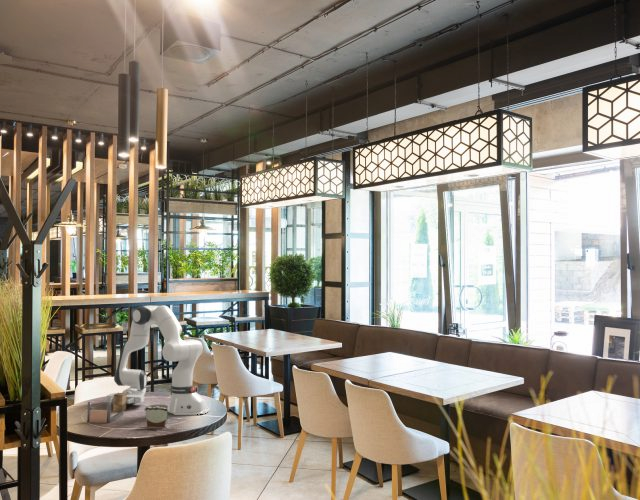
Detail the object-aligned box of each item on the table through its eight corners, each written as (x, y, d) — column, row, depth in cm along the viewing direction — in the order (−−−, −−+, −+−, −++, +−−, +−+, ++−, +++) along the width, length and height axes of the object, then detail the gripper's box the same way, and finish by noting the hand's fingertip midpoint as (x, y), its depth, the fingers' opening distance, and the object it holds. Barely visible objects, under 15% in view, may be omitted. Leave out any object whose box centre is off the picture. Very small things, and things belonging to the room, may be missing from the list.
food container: (172, 424, 279) (172, 404, 280) (167, 428, 273) (168, 407, 274) (148, 423, 281) (149, 403, 281) (143, 426, 274) (144, 406, 275)
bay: (123, 414, 298) (124, 395, 298) (109, 423, 280) (109, 403, 281) (102, 413, 299) (103, 394, 299) (86, 422, 281) (87, 402, 282)
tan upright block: (125, 409, 308) (126, 393, 309) (122, 411, 304) (122, 395, 304) (117, 409, 309) (117, 392, 309) (113, 411, 304) (113, 394, 304)
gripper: (112, 389, 320) (101, 395, 306) (146, 391, 319) (137, 396, 305) (112, 400, 320) (100, 406, 306) (146, 402, 318) (136, 407, 305)
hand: (119, 401), depth 306 cm, fingers open, 8 cm apart
